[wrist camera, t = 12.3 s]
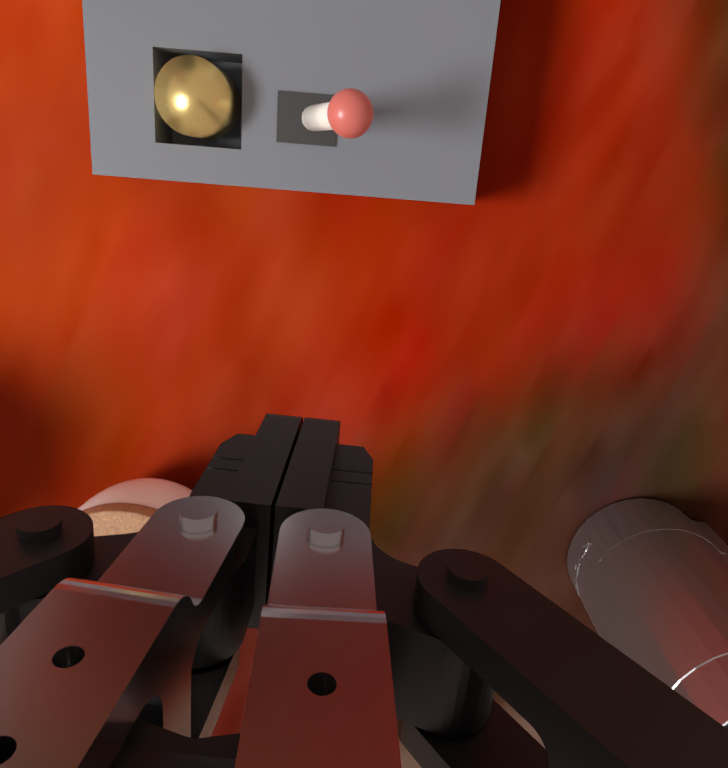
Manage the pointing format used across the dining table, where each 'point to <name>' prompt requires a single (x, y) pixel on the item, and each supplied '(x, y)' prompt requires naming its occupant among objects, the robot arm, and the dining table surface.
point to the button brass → (196, 98)
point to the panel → (299, 92)
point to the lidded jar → (130, 504)
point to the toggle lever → (341, 114)
